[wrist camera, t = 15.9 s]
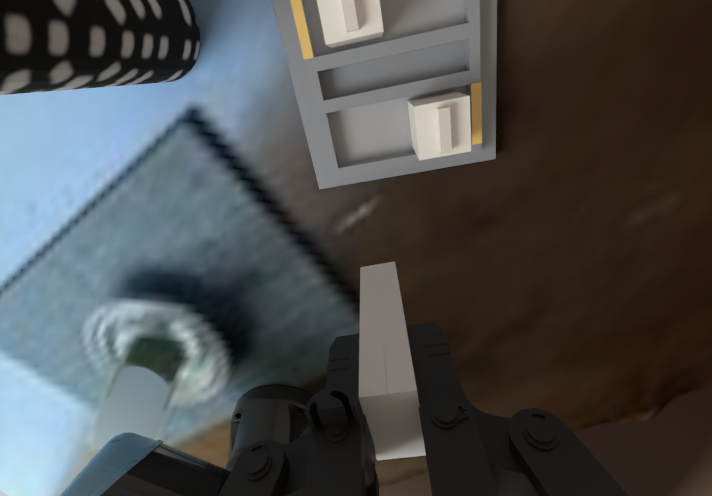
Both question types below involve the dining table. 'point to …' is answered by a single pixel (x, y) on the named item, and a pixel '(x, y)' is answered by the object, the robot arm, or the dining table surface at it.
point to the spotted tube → (94, 43)
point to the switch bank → (390, 84)
